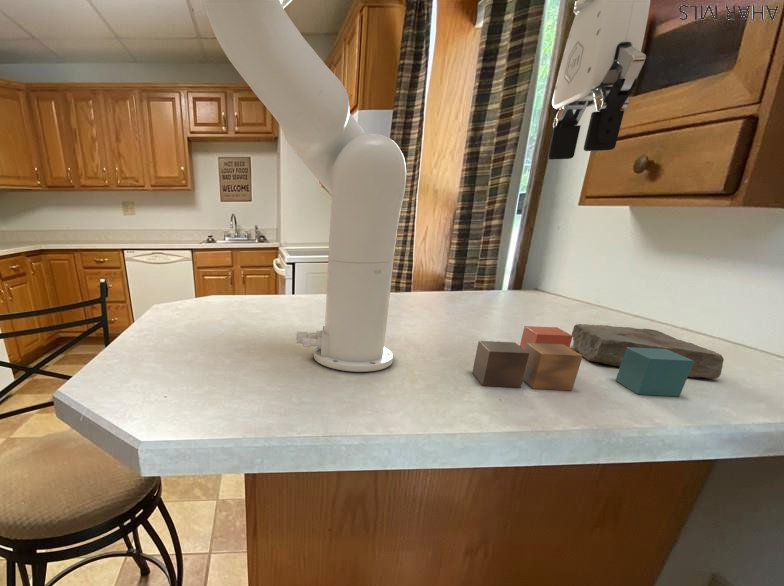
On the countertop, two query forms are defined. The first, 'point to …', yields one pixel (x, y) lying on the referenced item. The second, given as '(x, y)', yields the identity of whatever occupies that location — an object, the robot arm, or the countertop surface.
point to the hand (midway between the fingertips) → (577, 154)
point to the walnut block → (500, 364)
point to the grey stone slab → (613, 342)
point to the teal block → (654, 371)
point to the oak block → (551, 366)
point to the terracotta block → (545, 336)
